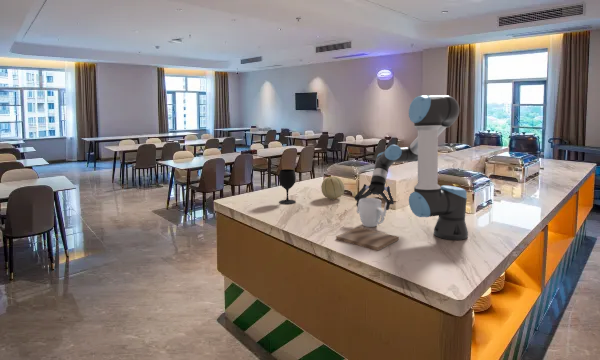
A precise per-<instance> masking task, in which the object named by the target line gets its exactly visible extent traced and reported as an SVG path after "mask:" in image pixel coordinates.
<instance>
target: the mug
mask: <svg viewBox="0 0 600 360" xmlns="http://www.w3.org/2000/svg"><path fill="white" fill-rule="evenodd" d="M382 204H383V203H382V200H381V198H380V199H379V198H374V197H366V198H362V199H360V202H359V213H358V214H359V218H360V222H361V223H362V224H361V225H363V227H366V228H374V227H377V226H378V225H381V224H383V222H384V220H385V216H384V212H383V211H384V209H382Z"/></svg>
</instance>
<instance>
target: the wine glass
mask: <svg viewBox="0 0 600 360" xmlns="http://www.w3.org/2000/svg"><path fill="white" fill-rule="evenodd" d="M296 179H297V177H296V171H295V170H294V169H291V168H289V169H287V168H286V169H280V170H279V173H278V182H279V184H280V186H281V187H282V188H283V189H284V190H286V197H285V198H286V199H281V200H279V202H278V203H279V204H281V205H293V204H296V203H297V202H296V200H294V199H289V191H290V189H291V188H292V187H293V186H294V185H295V184H296Z"/></svg>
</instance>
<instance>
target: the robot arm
mask: <svg viewBox="0 0 600 360" xmlns="http://www.w3.org/2000/svg"><path fill="white" fill-rule="evenodd" d="M459 115H460V105H459V103H458V101H457V100H456V98H454V97H452V96H451V95H446V94H444V95H443V94H442V95H440V94H439V95H438V94H436V95H433V94H432V95H429V94H427V95H426V94H424V95H418V96H416V97H414V98H413V100H412V101H411V102H410V105H409V108H408V118H409V120H410V122H412V123H413V126H414V128H415V129H416V130H417V137H416V138H415V139H414V140H413V141H412V142H411V143H410V145H409V146H406V147H403V146H402V147H400V146H399V145H397V144H390V145H389V146H388V147H387V148H386V149H385V150H384V151H382V152H379V153H378V154H377V156H376V158H375V164H374V167H373V171H372V174H371V175H372V177H371V178H370V179H371V180H370V184H369V185H367V184H366V183H365V184H363V186H362V188H361V189H360V190H359V191H358V192H357V194H356V195H354V197H353V198H354V200H355V202H356V203H355V205H356V213H357V214H360V213H359V202H360V199H362V198H368V197H369V196H371V195H377V196H379V194H380V195H381V196H382V197H383V198H384V199H383V200H384V201H385V203H384V208H383V212H384V217H386V215H387V211H389V209H390V206H391V205H394V204H395V203H394V199H393V198H392V196H391V193H390V187H389V186H388V187H385V184H387V183H386V181H387V177H388V173H389V169H390V167H391V166H392V165H393V164H395V163H402V162H403V163H405V162H417V183H416V185H414V186H413V189H414V190H413V191H412V192H411V193H410V194H409V197H408V206H409V208H410V211H411V212H412V214H414V215H415V216H416V217H418V218H430V217H437V216H438V218H437V221H436V223H435V226H434V228H433V235H434V236H435V237H437V238H440V239H444V240H449V241H461V240H462V239H463V240H466V239H467V238H468V236H469V231H468V227H467V225H466V224H467V223H466V211H467V210H466V208H467V200H468V197H467V194H468V193H467V190H466V189H465V188H461V187H458V186H453V185H441V186H440V184H438V177H439V176H438V175H439V174H438V171H439V170H438V166H439V153H438V152H439V136H440V135H441V134H442V133H443V132H444V131H445V129H446V128H450V127H451V126H452V125H453V124H454V123H455V122H456V121H457V119H458V117H459ZM384 190H386V191H387V192H388V195H389V198H390V200H388V199H387V197H386V196H385V194H384V193H383V191H384ZM463 240H462V241H463Z"/></svg>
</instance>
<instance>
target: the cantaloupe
mask: <svg viewBox="0 0 600 360" xmlns="http://www.w3.org/2000/svg"><path fill="white" fill-rule="evenodd" d="M320 186H321V194H322V195H323V196H324V197H325V198H326V199H329V200H337V199H339V198H341V197H342V196H343V195H344V193H345V184H344V182H343V180H342V179H341V178H339V177H338V176H331V175H327V177H326V178H325V179H323V181H322V183H321V185H320Z"/></svg>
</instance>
